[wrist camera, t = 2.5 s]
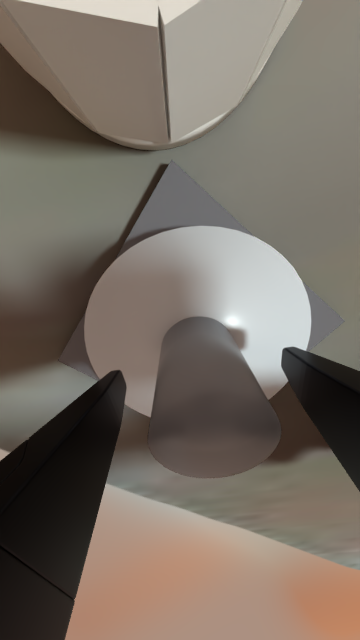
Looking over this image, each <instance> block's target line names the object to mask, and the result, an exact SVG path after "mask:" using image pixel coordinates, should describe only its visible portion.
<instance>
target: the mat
mask: <svg viewBox="0 0 360 640" xmlns="http://www.w3.org/2000/svg"><path fill="white" fill-rule="evenodd" d="M191 226H216V227H223V228H228V229H233V230H238V231H241V232H243V233H246V234H249V235H251V236H253V235H252V234H251V233H250V232H249V231H248V230H247V229H246V228H245V227H244V226H242V225H241V224H240V223H239V222H238V221H237V220H236V219H235V218H234V217H233V216H232V215H231V214H230V213H229V212H227V211H226V210H225V209H224V208H223V207H222V206H221V205H220V204H219V203H218V202H217V201H216V200H215V199H213V198H212V197H211V196H210V195H209V194H208V193H207V192H206V191H205V190H204V189H203V188H202V187H201V186H200V185H198V184H197V183H196V182H195V181H194V180H193V179H192V178H191V177H190V176H189V175H188V174H187V173H186V172H184V171H183V170H182V169H181V168H180V167H179V166H178V165H177V164H176V163H175V162H174V161H173V160H171V162H170V163H169V165H168V167H167V169H166V170H165V172H164V174H163V176H162V178H161V179H160V181H159V183H158V185H157V186H156V188H155V190H154V192H153V193H152V195H151V197H150V199H149V200H148V202H147V204H146V206H145V208H144V209H143V211H142V213H141V215H140V216H139V218H138V220H137V222H136V223H135V225H134V227H133V229H132V230H131V232H130V234H129V236H128V238H127V239H126V241H125V243H124V245H123V246H122V248H121V250H120V252H119V253H118V255H117V257H116V259H117V258H118V257H119V256H121V255H122V254H123V253H124V252H126V251H127V250H128V249H129V248H131V247H133V246H134V245H136V244H138V243H139V242H141V241H143V240H145V239H147V238H149V237H152V236H154V235H156V234H159V233H161V232H165V231H169V230H173V229H177V228H181V227H191ZM116 259H115V260H116ZM115 260H114V261H115ZM302 283H303V285H304V287H305V290H306V292H307V295H308V299H309V304H310V309H311V331H310V338H309V342H308V346H307V349H306V351H307V352H308V351H310V350H311V349H312V348H313V347H314V346H316V345H317V344H318V343H319V342H320V341H322V340H323V339H324V338H325V337H326V336H328V335H329V334H330V333H331V332H332V331H334V330H335V329H336V328H337V327H338V326H340V325H341V324H342V323H343V322H344V320H343V319H342V318H341V317H340V316H339V315H338V314H337V313H336V312H335V311H334V310H333V309H332V308H331V307H329V306H328V305H327V304H326V303H325V302H324V301H323V300H322V299H321V298H320V297H319V296H318V295H317V294H315V293H314V292H313V291H312V290H311V289H310V288H309V287H308V286H307V285H306V284H305V283H304V282H303V281H302ZM85 314H86V312H85V313H84V315H83V317H82V319H81V320H80V322H79V324H78V326H77V328H76V329H75V331H74V333H73V335H72V336H71V338H70V340H69V342H68V343H67V345H66V347H65V349H64V350H63V352H62V354H61V356H60V358H59V359H58V361H60V362H62V363H64V364H66V365H68V366H70V367H72V368H74V369H76V370H78V371H80V372H82V373H84V374H86V375H88V376H90V377H92V378H94V379H96V380H98V381H99V380H100V379H99V377H98V376H97V374H96V372H95V371H94V369H93V367H92V365H91V362H90V359H89V356H88V354H87V350H86V344H85V337H84V323H85Z"/></svg>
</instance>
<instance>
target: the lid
mask: <svg viewBox="0 0 360 640" xmlns="http://www.w3.org/2000/svg"><path fill="white" fill-rule="evenodd" d="M310 331H311V309H310V304H309V299H308V295H307V292H306V290H305V287H304V285H303V283H302V280H301V279H300V277H299V276H298V274H297V272H296V271H295V269H294V268H293V267H292V265H291V264H290V263H289V262H288V261H287V260H286V259H285V258H284V257H283V256H282V255H281V254H280V253H279V252H277V251H276V250H275V249H274V248H273V247H271V246H270V245H268V244H267V243H265V242H263V241H261V240H259V239H258V238H256V237H254V236H251V235H249V234H246V233H243V232H241V231H238V230H233V229H228V228H223V227H216V226H191V227H181V228H177V229H173V230H169V231H165V232H161V233H159V234H156V235H154V236H152V237H149V238H147V239H145V240H143V241H141V242H139V243H138V244H136V245H134V246H133V247H131V248H129V249H128V250H127V251H126V252H124V253H123V254H122V255H121V256H119V257H118V258H117V259H116V260H115V261H114V262H113V263H112V264H111V265H110V266H109V268H108V269H107V270H106V271H105V272H104V274H103V275H102V277H101V278H100V280H99V281H98V283H97V284H96V286H95V288H94V290H93V292H92V295H91V297H90V299H89V303H88V306H87V310H86V314H85V323H84V337H85V344H86V350H87V354H88V356H89V359H90V362H91V365H92V367H93V369H94V371H95V372H96V374H97V376H98V377H99V379H102V378H103V377H104V376H105V375H106V374H108V373H109V372H110V371H113V370H121V371H122V374H123V376H124V379H125V382H126V386H127V389H126V396H125V403H124V404H125V405H127V406H128V407H130V408H132V409H134V410H135V411H137V412H139V413H141V414H144V415H146V416H148V417H151V419H150V425H149V432H148V445H149V449H150V451H151V453H152V455H153V456H154V458H155V459H156V460H157V461H158V462H159V463H160V464H162V465H163V466H164V467H166V468H168V469H169V470H171V471H174V472H176V473H179V474H181V475H185V476H190V477H196V478H220V477H227V476H232V475H235V474H239V473H242V472H245V471H247V470H249V469H251V468H253V467H255V466H257V465H259V464H260V463H262V462H263V461H264V460H266V459H267V458H268V457H269V456H270V455H271V454H272V453H273V451H274V450H275V448H276V447H277V445H278V443H279V441H280V437H281V425H280V421H279V419H278V417H277V415H276V413H275V411H274V410H273V408H272V406H271V404H270V402H269V401H268V400H269V399H270V398H272V397H273V396H274V395H275V394H276V393H277V392H278V391H280V390H281V389H282V388H283V387H284V385H285V384H286V383H287V382H288V379H287V377H286V375H285V374H284V372H283V370H282V367H281V358H282V350H283V348H285V347H297V348H299V349H302V350H305V351H306V349H307V346H308V342H309V338H310Z"/></svg>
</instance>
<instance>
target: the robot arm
mask: <svg viewBox="0 0 360 640" xmlns="http://www.w3.org/2000/svg"><path fill="white" fill-rule="evenodd" d="M281 367H282V370H283V372H284V374H285V375H286V377H287V379H288V381H289V383H290V385H291V387H292V389H293V390H294V392H295V394H296V396H297V398H298V400H299V401H300V403H301V405H302V406H303V408H304V409H305V411H306V412H307V414H308V415H309V417H310V418H311V420H312V421H313V423H314V424H315V426H316V427H317V429H318V430H319V432H320V433H321V435H322V436H323V438H324V439H325V441H326V442H327V444H328V445H329V447H330V448H331V450H332V451H333V453H334V454H335V456H336V457H337V459H338V460H339V462H340V463H341V465H342V466H343V467H344V469H345V470H346V472H347V473H348V475H349V476H350V478H351V479H352V481H353V482H354V484H355V485H356V487H357V488H358V490H359V491H360V371H358V370H355V369H352V368H350V367H347V366H344V365H342V364H339V363H336V362H334V361H331V360H328V359H326V358H323V357H321V356H318V355H315V354H313V353H310V352H307V351H305V350H302V349H299V348H297V347H285V348H283V350H282V358H281ZM126 389H127V386H126V382H125V379H124V376H123V374H122V371H121V370H113V371H110V372H109V373H108V374H106V375H105V376H104V377H103V378H102V379H100V380H99V381H98V382H97V383H95V384H94V385H93V386H92V387H91V388H89V389H88V390H87V391H86V392H84V393H83V394H82V395H81V396H80V397H78V398H77V399H76V400H75V401H73V402H72V403H71V404H70V405H69V406H67V407H66V408H65V409H64V410H62V411H61V412H60V413H59V414H58V415H56V416H55V417H54V418H53V419H51V420H50V421H49V422H48V423H47V424H45V425H44V426H43V427H42V428H40V429H39V430H38V431H37V432H36V433H34V434H33V435H32V436H31V437H30V438H29V440H26V441H24V442H23V443H22V444H21V445H20V446H18V447H17V448H16V449H15V450H14V451H12V452H11V453H10V454H9V455H7V456H6V457H5V458H4V459H2V460H1V461H0V640H65V637H66V633H67V629H68V625H69V621H70V618H71V614H72V610H73V606H74V602H75V601H74V599H75V597H76V594H77V590H78V586H79V583H80V579H81V575H82V571H83V567H84V563H85V559H86V556H87V552H88V548H89V544H90V540H91V537H92V533H93V529H94V525H95V522H96V518H97V514H98V510H99V506H100V503H101V499H102V495H103V491H104V488H105V484H106V480H107V476H108V472H109V469H110V465H111V461H112V457H113V453H114V450H115V446H116V442H117V438H118V434H119V431H120V426H121V422H122V416H123V409H124V403H125V396H126Z"/></svg>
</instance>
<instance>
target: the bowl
mask: <svg viewBox="0 0 360 640" xmlns="http://www.w3.org/2000/svg"><path fill="white" fill-rule="evenodd" d="M302 1H303V0H0V43H1V44H2V45H3V46H4V48H5V49H6V50H7V51H8V52H9V53H10V54H11V55H12V56H13V58H14V59H15V60H16V61H17V62H18V63H19V64H20V65H21V66H22V68H23V69H24V70H25V71H26V72H28V73H29V74H30V75H31V76H32V77H33V78H35V79H36V80H37V81H38V82H39V83H40V84H41V85H43V86H44V87H45V88H46V89H47V90H48V91H50V92H51V94H52V95H53V96H54V97H55V98H56V99H57V101H58V102H59V103H60V104H61V105H62V106H63V107H64V108H65V109H66V110H67V111H68V112H69V113H71V114H72V115H73V116H74V117H75V118H76V119H77V120H79V121H80V122H81V123H82V124H84V125H85V126H86V127H88V128H89V129H90V130H92V131H94V132H95V133H97V134H99V135H100V136H102V137H104V138H106V139H108V140H110V141H113V142H115V143H118V144H120V145H122V146H127V147H131V148H135V149H141V150H163V149H171V148H174V147H178V146H182V145H185V144H187V143H190V142H192V141H194V140H196V139H198V138H200V137H202V136H203V135H205V134H206V133H208V132H209V131H211V130H212V129H214V128H215V127H217V126H218V125H219V124H220V123H221V122H222V121H223V120H224V119H226V118H227V117H228V116H229V115H230V114H231V113H232V112H233V110H234V109H235V108H236V107H237V106H238V105H239V104H240V103H241V101H242V100H243V99H244V98H245V96H246V95H247V93H248V92H249V90H250V89H251V88H252V86H253V85H254V83H255V82H256V80H257V79H258V77H259V75H260V73H261V71H262V70H263V68H264V66H265V64H266V63H267V61H268V59H269V57H270V55H271V53H272V51H273V49H274V47H275V46H276V44H277V42H278V41H279V39H280V38H281V36H282V34H283V33H284V31H285V30H286V28H287V26H288V25H289V23H290V22H291V20H292V18H293V17H294V15H295V14H296V12H297V10H298V9H299V7H300V5H301V3H302Z"/></svg>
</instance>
